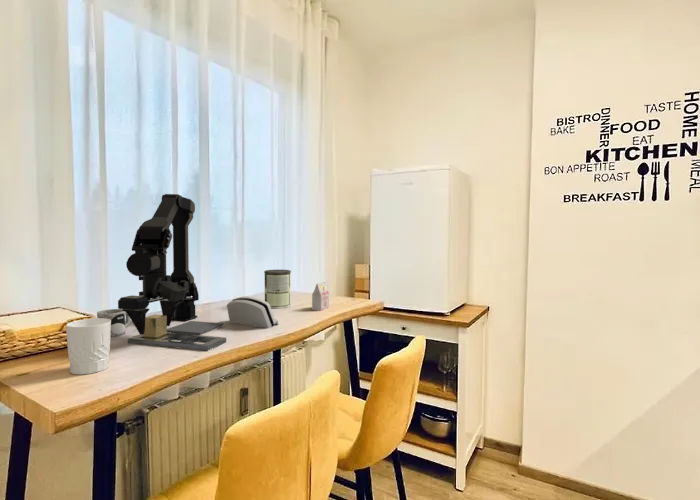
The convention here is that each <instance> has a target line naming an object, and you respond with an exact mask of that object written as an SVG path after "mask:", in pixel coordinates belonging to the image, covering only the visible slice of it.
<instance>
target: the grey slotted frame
mask: <svg viewBox="0 0 700 500" xmlns="http://www.w3.org/2000/svg"><path fill="white" fill-rule="evenodd" d="M176 340H180V341H176ZM197 342H205V343H197ZM129 343H130V344H137V345H148V346H154V347H155V346H156V347H157V346H158V347H168V348H175V349H184V348H185V349H187V350H194V351H195V350H196V351H204V350H205V351H204V352H208V350H209V351H211V350H212V348H213V349H215V348H217V347H219V346H222V345H223V344H226V343H227V337H226V336H225V337H224V336H213V335H211V336H210V335H204V334H201V335H194V334H182V333H171V332H167V336H164V337H162V338H159V339H147V338H143V335H141V334H137V335H134V336H131V337H128V338H127V344H129ZM210 349H211V350H210Z"/></svg>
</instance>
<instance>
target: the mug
mask: <svg viewBox="0 0 700 500" xmlns="http://www.w3.org/2000/svg"><path fill="white" fill-rule="evenodd" d="M96 318H103V319H110V320H111V338H117V337H120V336H121V337H122V336H123V335H125V334H126V328H127V327H129V326H130V324H131V319H130V317H129V316H128V314H127V313H126V312H124V311H122V309H118V308H113V309H112V308H111V309H104V310H99V311H97V312H96Z"/></svg>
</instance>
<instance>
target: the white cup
mask: <svg viewBox="0 0 700 500" xmlns="http://www.w3.org/2000/svg"><path fill="white" fill-rule="evenodd" d="M65 331H66V343H67V353H68V354H67V355H68V361H69V371H70V374H73V375H78V376H79V375H91V374H95V373H99V372H102V371H104V370H107V369H108V368H109V366H110V365H109V362H110V361H109V357H110V353H111V351H110V349H111V338H112V337H111V320H110V319H103V318H97V317H96V318H88V319H87V318H86V319H79V320H74V321H70V322H68V323H66V325H65Z"/></svg>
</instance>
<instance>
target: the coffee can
mask: <svg viewBox="0 0 700 500" xmlns="http://www.w3.org/2000/svg"><path fill="white" fill-rule="evenodd" d="M263 272H264V301H266V302H268V303H269V304H270V307H271V309H273V310H274V309H286V308H290V307H291V272H292V271H291V270H289V269H267V270H264V271H263Z"/></svg>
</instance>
